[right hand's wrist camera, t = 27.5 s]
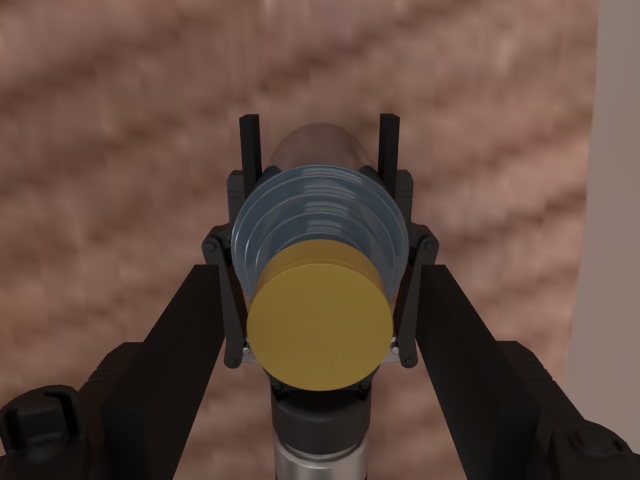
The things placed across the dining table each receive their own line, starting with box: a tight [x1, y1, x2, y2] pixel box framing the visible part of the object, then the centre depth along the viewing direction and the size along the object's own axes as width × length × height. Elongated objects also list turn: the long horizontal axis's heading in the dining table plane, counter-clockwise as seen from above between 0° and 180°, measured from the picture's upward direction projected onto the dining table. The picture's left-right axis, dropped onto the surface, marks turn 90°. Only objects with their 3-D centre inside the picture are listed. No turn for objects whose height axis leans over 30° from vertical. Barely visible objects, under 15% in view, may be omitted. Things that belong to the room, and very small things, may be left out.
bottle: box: [231, 124, 409, 301], centre depth 24 cm, size 8×8×22 cm
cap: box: [247, 239, 394, 391], centre depth 14 cm, size 4×4×2 cm
